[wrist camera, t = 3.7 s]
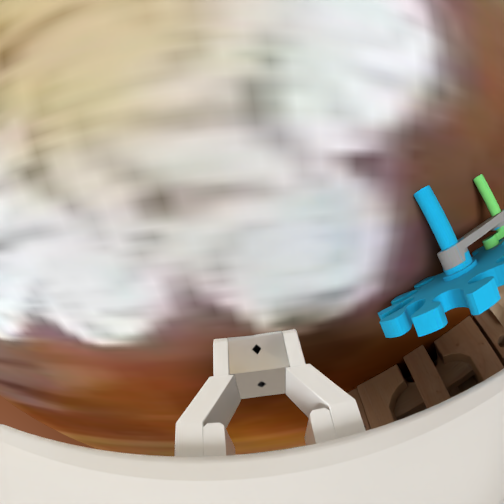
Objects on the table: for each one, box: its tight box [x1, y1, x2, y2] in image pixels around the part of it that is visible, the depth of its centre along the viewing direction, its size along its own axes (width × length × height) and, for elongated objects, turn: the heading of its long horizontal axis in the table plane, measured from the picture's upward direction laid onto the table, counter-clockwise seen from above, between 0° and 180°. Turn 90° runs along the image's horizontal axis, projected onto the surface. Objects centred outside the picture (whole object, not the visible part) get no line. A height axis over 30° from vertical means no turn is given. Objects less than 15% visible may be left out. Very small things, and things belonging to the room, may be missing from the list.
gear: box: [378, 174, 504, 338], centre depth 12 cm, size 11×6×10 cm
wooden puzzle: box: [347, 308, 504, 431], centre depth 17 cm, size 22×15×19 cm, turn 127°
